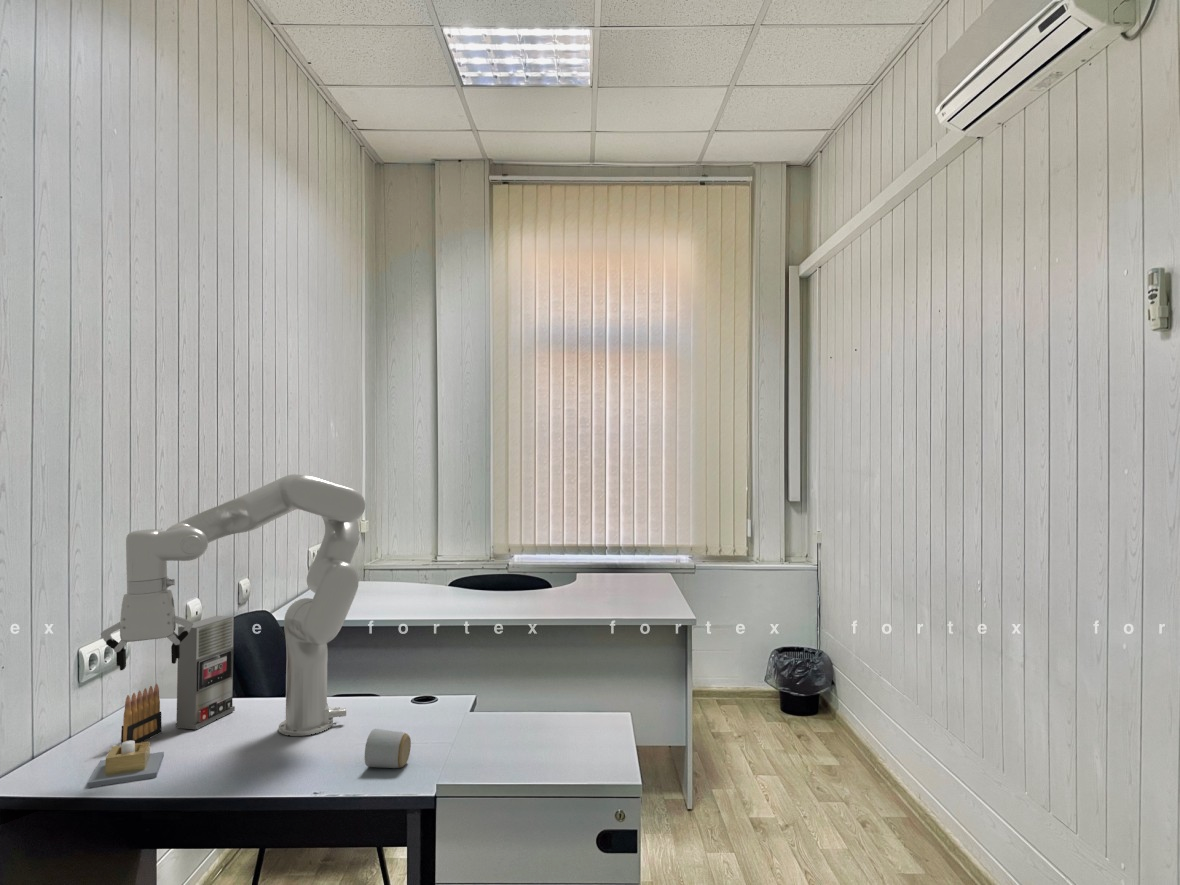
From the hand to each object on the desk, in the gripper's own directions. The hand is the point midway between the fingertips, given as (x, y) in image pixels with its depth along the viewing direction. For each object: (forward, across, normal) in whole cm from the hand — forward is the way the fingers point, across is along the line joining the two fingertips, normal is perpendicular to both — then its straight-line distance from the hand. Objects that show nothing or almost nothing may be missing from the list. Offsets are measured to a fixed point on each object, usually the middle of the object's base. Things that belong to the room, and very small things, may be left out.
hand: (148, 665), depth 158 cm
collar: (+20, +4, +2) cm, 21 cm away
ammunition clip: (+22, +4, -17) cm, 28 cm away
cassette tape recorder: (+22, -9, -26) cm, 35 cm away
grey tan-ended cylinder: (+23, -47, +21) cm, 57 cm away
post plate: (+21, +4, +2) cm, 22 cm away
